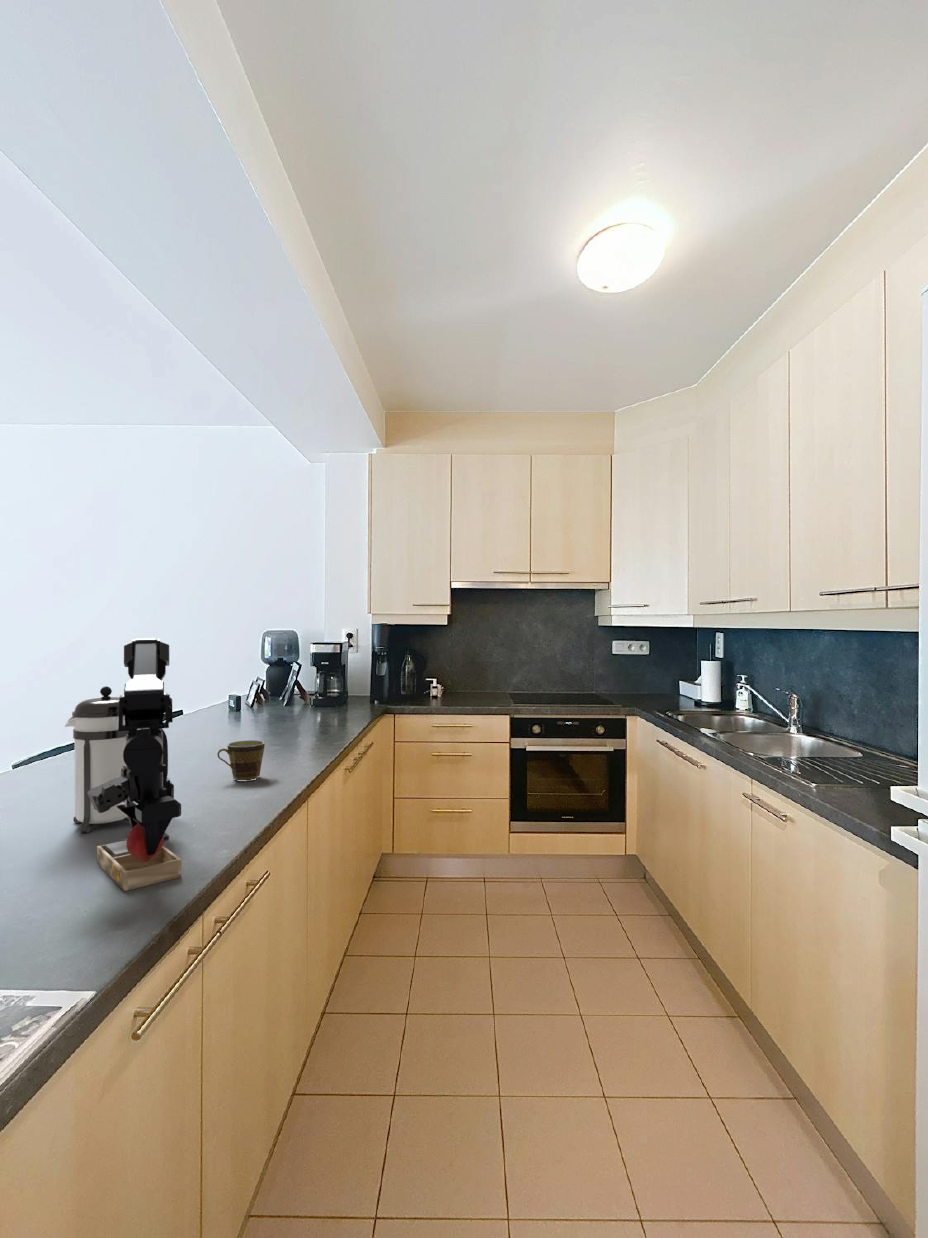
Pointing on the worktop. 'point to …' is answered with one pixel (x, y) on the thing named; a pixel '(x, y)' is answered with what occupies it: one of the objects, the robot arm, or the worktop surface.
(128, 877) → the wooden compartment tray
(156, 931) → the worktop surface
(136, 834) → the red rounded piece
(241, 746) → the ceramic cup
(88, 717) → the coffee press
